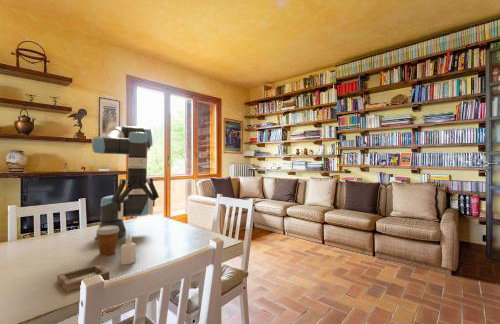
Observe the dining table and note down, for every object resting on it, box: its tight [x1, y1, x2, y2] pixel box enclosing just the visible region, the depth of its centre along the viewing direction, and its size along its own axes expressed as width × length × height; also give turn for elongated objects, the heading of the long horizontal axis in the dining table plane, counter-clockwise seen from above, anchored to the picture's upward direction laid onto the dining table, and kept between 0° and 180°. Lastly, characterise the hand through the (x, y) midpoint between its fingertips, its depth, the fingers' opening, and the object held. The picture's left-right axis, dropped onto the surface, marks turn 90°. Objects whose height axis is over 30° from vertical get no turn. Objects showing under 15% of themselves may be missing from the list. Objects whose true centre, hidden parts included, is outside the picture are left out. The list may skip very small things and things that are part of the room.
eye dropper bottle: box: [120, 234, 137, 266], centre depth 107 cm, size 4×6×12 cm
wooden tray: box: [56, 263, 111, 293], centre depth 91 cm, size 11×13×2 cm
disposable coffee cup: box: [96, 225, 120, 256], centre depth 118 cm, size 10×10×12 cm
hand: (136, 216), depth 109 cm, fingers open, 13 cm apart
